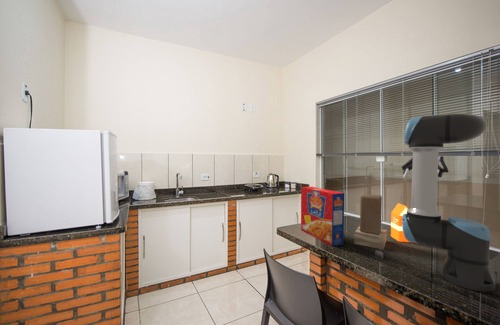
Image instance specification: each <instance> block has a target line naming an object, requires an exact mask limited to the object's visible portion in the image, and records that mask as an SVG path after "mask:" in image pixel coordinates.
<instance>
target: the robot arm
mask: <svg viewBox="0 0 500 325" xmlns="http://www.w3.org/2000/svg"><path fill="white" fill-rule="evenodd" d="M486 126H487V125H486V121H485V120H484V117H483V116H482V115H475V114H469V113H468V114H467V113H450V114H432V115H424V116H418V117H412V118H410V119H408V121H407V123H406V128H405V130H404V144H405V145H407V146H408V150H409V151H410V152H412V158H411V159H409V160H408V161H407V162H405V164H403V165H402V166H401V170H402V172H403V173H402V174H403V176H402V179H403V180H404V181H405V182H406V181H407V179H408V177H409V174H410V171H411V170H412V171H411V172H412V173H411V178H412V179H411V197H410V198H411V199H410V200H411V201H410V202H411V203H410V205H411V206H410V208H408V210H407V214H403V216H402V228H403V234H404V237H405V238H406V240H408V241H410V242H409V243H414V244H417V245H422V246H427V247H432V248H436V249H441V250H445V251H446V252H447V253H446V257H445V260H444V262H443V264H442V266H441V268H440V269H441V270H440V275H441V277H442V278H443V279H445V280H446V281H447V282H449V283H452V284H454V285H456V286H458V287H461V288H465V289H466V290H467V289H468V290H471V291H475V292H484V293H491V291H492V292H494V291H496V281H495V277H494V275H493V273H492V270H491V268H490V241H492V240H491V231H490V229H489V227H488V226H487V225H485V224H484V223H481V222H478V221H475V220H471V219H468V218H463V217H458V216H457V217H456V216H449V217H448V218H447V219H443V218H442V214H441V212H439V211H438V210H437V209H438V207H437V206H438V181H439V178H442V176H443V174H444V173H449V169H448V166H447V165H446V163H445V158H444V156H443V155H441V156H440V157H439V154H440V152H441V150H443V149H444V145H446V144H457V143H464V142H467V141H471V140H474V139H476V138H478V137H480V136H481V135H482V134H483V133H484V131H485V130H486ZM439 162H440V163H441V166H442V167H441V166H440V164H439Z"/></svg>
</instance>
